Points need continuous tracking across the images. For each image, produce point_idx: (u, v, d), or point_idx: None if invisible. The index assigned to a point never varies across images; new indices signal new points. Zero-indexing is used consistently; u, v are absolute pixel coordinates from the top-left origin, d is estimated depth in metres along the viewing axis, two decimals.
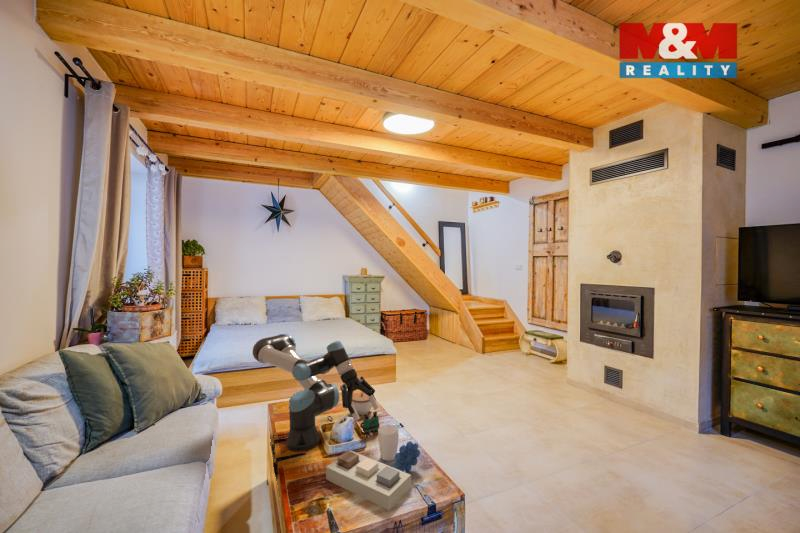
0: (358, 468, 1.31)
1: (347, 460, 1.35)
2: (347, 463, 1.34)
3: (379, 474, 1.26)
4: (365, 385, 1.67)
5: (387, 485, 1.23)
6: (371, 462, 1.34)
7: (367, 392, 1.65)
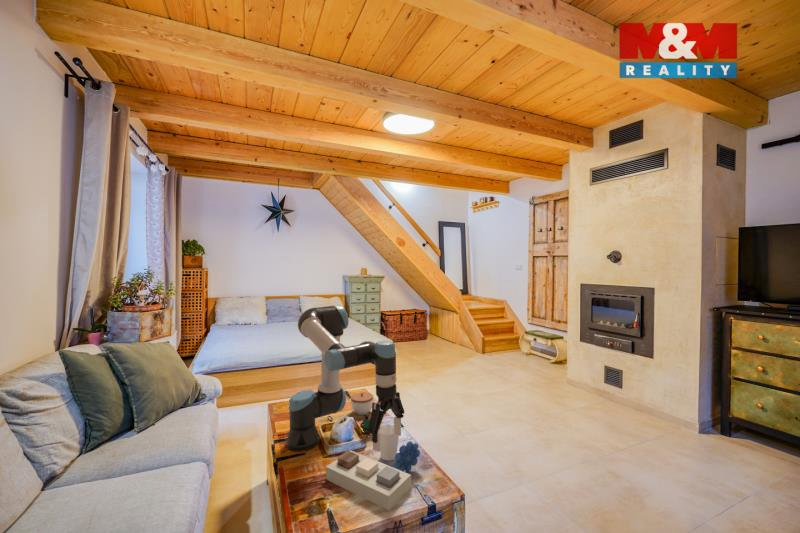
0: (358, 468, 1.31)
1: (347, 460, 1.35)
2: (347, 463, 1.34)
3: (379, 474, 1.26)
4: (397, 403, 1.32)
5: (387, 485, 1.23)
6: (371, 462, 1.34)
7: (396, 413, 1.31)
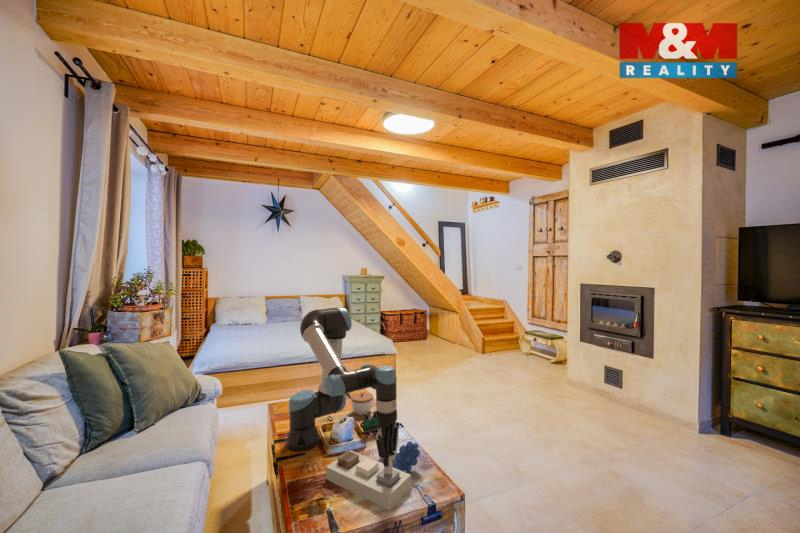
0: (358, 468, 1.31)
1: (347, 460, 1.35)
2: (347, 463, 1.34)
3: (379, 475, 1.26)
4: (393, 434, 1.29)
5: (387, 486, 1.23)
6: (371, 462, 1.34)
7: (389, 447, 1.27)
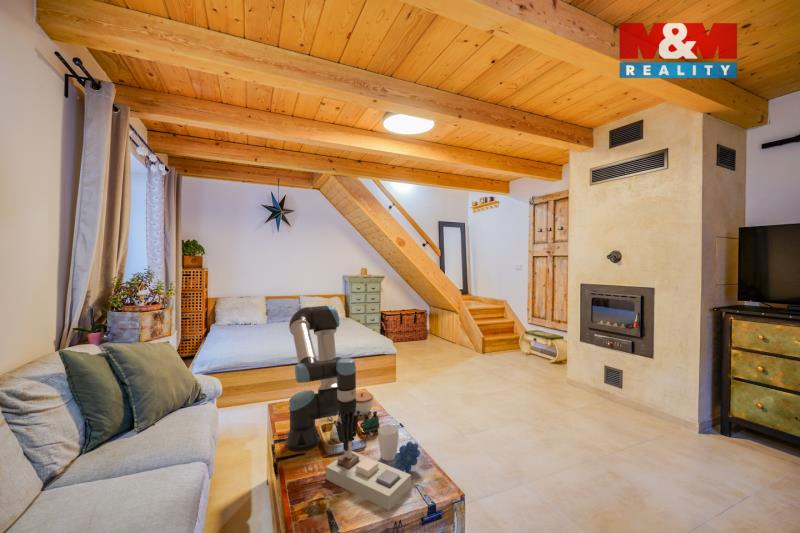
0: (358, 468, 1.31)
1: (347, 461, 1.35)
2: (347, 464, 1.34)
3: (379, 477, 1.26)
4: (354, 422, 1.41)
5: None
6: (371, 462, 1.34)
7: (349, 432, 1.38)
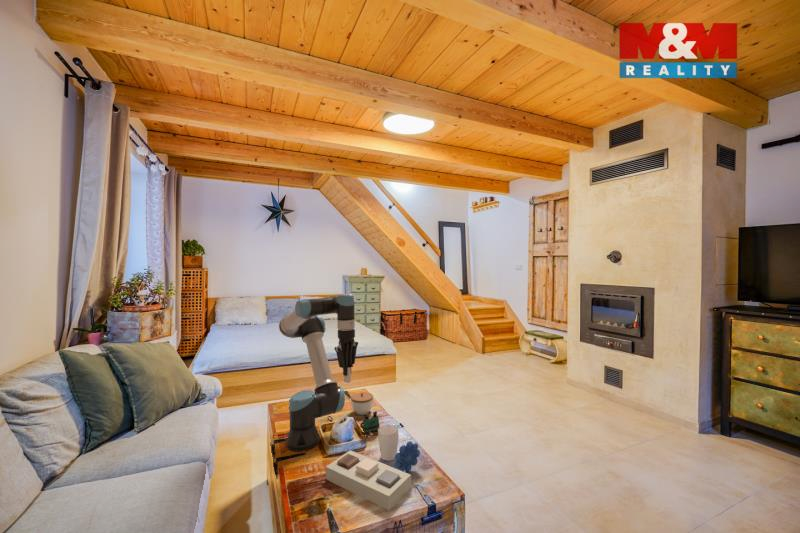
0: (358, 468, 1.31)
1: (347, 463, 1.35)
2: (347, 466, 1.34)
3: (379, 477, 1.26)
4: (352, 351, 1.55)
5: None
6: (371, 462, 1.34)
7: (348, 360, 1.53)
